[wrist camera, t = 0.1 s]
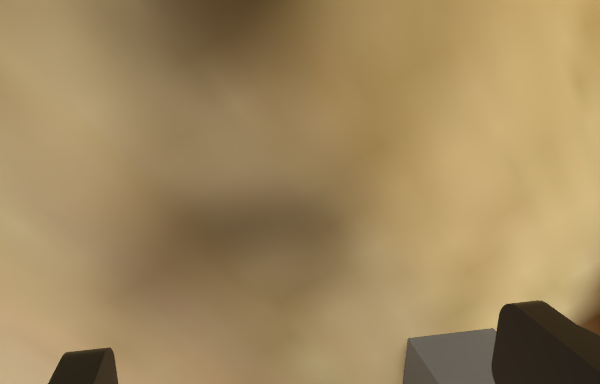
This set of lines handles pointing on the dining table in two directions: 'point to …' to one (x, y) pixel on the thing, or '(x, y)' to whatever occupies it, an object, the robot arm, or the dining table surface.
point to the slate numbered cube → (450, 358)
